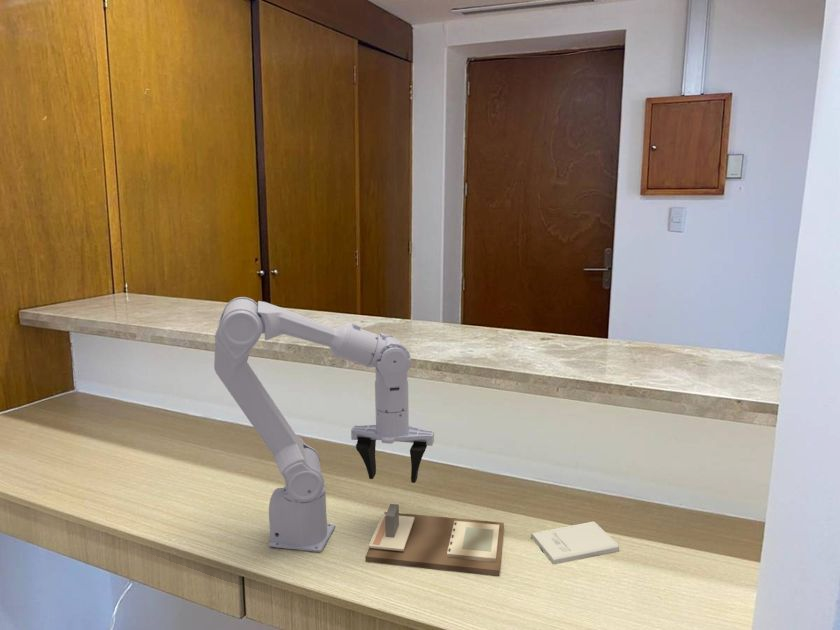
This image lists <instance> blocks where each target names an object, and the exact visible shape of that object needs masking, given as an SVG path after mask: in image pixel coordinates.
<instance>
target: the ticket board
mask: <svg viewBox="0 0 840 630" xmlns="http://www.w3.org/2000/svg"><path fill="white" fill-rule="evenodd" d="M386 513H387V511H383V514H386ZM399 516H409V517H415V519H414V522H413V525H412V528H411V531H410V534H409V537H408V540H407V543H406V546H405V548H404V551H395V550H386V549H376V548H369V547H368V550H367V551H366V554H365V556H364V557H365V560H364V562H366V563H375V564H383V565H393V566H401V567H411V568H412V567H413V568H419V569H420V568H422V569H430V570H439V571H440V570H441V571H449V572H460V573H467V574H468V573H469V574H480V575H487V576H488V575H489V576H496V577H499V576H500V573H501V572H500V571H501V561H502V549H503V540H504V539H503V537H504V526H505V523H504V522H500V521H491V520H490V521H488V520H479V519H467V518H456V517H446V516H438V515H437V516H435V515H423V514H414V513H402V512H399Z"/></svg>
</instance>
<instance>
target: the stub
mask: <svg viewBox="0 0 840 630" xmlns="http://www.w3.org/2000/svg"><path fill="white" fill-rule="evenodd" d="M399 505H400V504H398V503H397V504H396V503H389V506H388V508H387V511H386V512H387V513H386V514H384V513H382V515H381V516H380V519H379V520H378V523H377V526H376V528H375V530H374V532H373V534H372V537H371V539H370V541H369V544H368V549H369V548H376V549H386V550H395V551H404V548H405V546H406V543H407V540H408V537H409V534H410V531H411V528H412V525H413V522H414V519H415V517H409V516H399V513H400V508H399V507H400V506H399Z"/></svg>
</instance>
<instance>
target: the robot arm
mask: <svg viewBox="0 0 840 630" xmlns="http://www.w3.org/2000/svg"><path fill="white" fill-rule="evenodd" d="M262 334H264V341H269V340H270V339H271V340H272V339H274V338H276V337H278V336H281V335H286V336H290V337H293V338H297V339H301V340H304V341H308V342H311V343H315V344H319V345H322V346H326V347H328V348H330V351H331V353H332V355H333V356H334V357H336V358H339V359H341V360H345V361H348V362H351V363H353V364H358V365H360V366H365V367H367V368H375V381H374V392H375V393H374V398H375V399H374V401H375V424H369V425H368V424H365V425H357V424H356V425H355V424H354V425H353V427H352V428H351V430H350V435H351V437H350V438H351V440H353V441H356V440H357V441H356V444H355V449H356V451H357V452H358V453H359V455H360V458H361V459H362V460H363V463H364V465H365V468H366V471H367V474H368V479H369V480H373V479H374V478H375V476H376V473H377V462H376V445H377V441H381V443H382V444H393V443H395V442H398V443H399V442H401V443H411V444H412V445H411V446H410V448H409V455H410V463H411V464H410V467H411V471H410V481H411V482H410V483H412V484H415V483H416V482H417V480H418V476H419V475H418V474H419V469H420V465H421V462H422V458H423V456H424V454H425V452H426V449H427V448H428V446H429V447H432V446H433V445H434V443H435V430H428V429H424V428H422V429H421V428H417V427H413V426H409V425H410V424H409V418H410V417H409V381H408V373H409V371H410V370H411V367H412V364H413V360H412V359H411V355H410V352H409V350H408V349H407V347H405V345H404V344H403V343H402V341H400V340H399V339H398V338H396V337H394V336H393V335H392V334H386V333H385V332H384V333H383V332H380V333H379V334H377V333H374V332H371V331H368V330H366V329H362V326H361V325H360V324H359V323H357V322H353V321H352V323H351V324H348V323H342V324H340V325H339V326H336V327H335V326H330V325H328V324H326V323H323V322H320V321H317V320H314V319H312V318H309V317H307V316H304V315H302V314H299V313H297V312H293V311H291V310H288V309H286V308H283V307H280V306H277V305H275V304H272V303H269V302H267V301H263V300H262V301H261V300H258V302H256V301H255V300H254V299H252V298H250V297H247V296H239V297H235V298H233V299H231V300H230V301H229V302H228V303H226V305H225V306H224V308H223V311H222V313H221V315H220V318H219V320H218V325H217V330H216V332H215V334H214V360H213V361H214V363H213V364H214V367H213V368H214V371H215V374H216V375H217V376H218V378H219V380H220V381H221V382H222V384H223V386H224V387H225V388H226V389H227V391H228V392H229V394H230V396H231V397H232V398H233V400H234V401H235V402H236V404H237V405H238V407H239V408H240V409H241V411H242V413H243V414H244V416H246V418H247V420H248V421H249V422H250V424H251V425H252V427H253V428H254V430H255V431H256V432H257V434H258V435H259V437H260V438H261V440H262V441H263V443H264V444H265V445H266V447H267V448H268V450H269V451H270V453H271V454H272V456H273V458H274V460H275V463H276V465H277V468H278V471H279V472H280V474H281V475H282V477H283V479H284V482H285V483H284V484H285V486H283V487H277V488H275V489H274V490H273V492H272V494H271V495H270V496H271V497H270V498H269V499H270V500H269V505H268V521H269V522H268V523H269V534H270V535H269V536H270V537H269V538H270V541H269V543H268V547H270V548H277V549H278V548H279V549H289V550H298V551H299V550H300V551H308V552H315V553H316V552H317V553H319V552H322V551H324V550H323V549H324V547H326V545H327V542H328V541H329V539H330V537H331V535H332V533H333V531H334V529H335V528H336V525H335V524H334V523H328V518H327V517H328V516H327V496H326V495H327V494H326V486H325V478H324V476H323V473H322V472H323V471H322V469H321V468H322V467H321V457H320V455H319V452H318V451H317V450H316V449H315V448H313V447H312V446H310V445H308V444H306V443H305V441H304V440H303V439H302V437H301V436H299V435H298V434H296V432H295V431H294V430H293V428H292V426H291V425H290V424H289V422H288V421H287V419H286V418H285V416H284V415H283V413H282V412H281V410H280V409H279V407H278V406H277V404H276V403H275V401H274V400H273V398H272V396H271V395H270V393H269V392H268V391H267V390H266V388H265V387H264V385H263V383H262V382H261V381H260V379H259V378H258V376H257V374H256V373H255V372H254V370H253V369H252V367H251V366H250V364H249V363H248V360H249V357H250V354H251V350H252V349H253V348H254V346H255V345H256V344H257V342H258V341H259V340H260V338H261V336H262Z"/></svg>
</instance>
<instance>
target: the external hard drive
mask: <svg viewBox="0 0 840 630" xmlns="http://www.w3.org/2000/svg"><path fill="white" fill-rule="evenodd" d="M530 538H531V539H532V540H533V541H534V543H535V544H536V545H537V546H538V547H539V548H540V549H541V550H542V551H543V553H544V555H545V556H546V557H547V559H548V560H549V561H550V562H551V564H552V565H556V564H562V563H566V562H571V561H576V560H580V559H582V560H583V559H585V558H591V557H596V556H601V555H605V554H612V553H616V552H619V551H620V545H619V543H617V542H616V541H615V540H614V539H613V538H612V537H611V536H610V535H609V534H608V533H607V532H606V531H605V530H604V529H603V528H601V526H600V525H599V524H598V523H597V522H595V521H589V522H588V521H587V522H584V523H578V524H573V525H568V526H567V525H566V526H562V527H557V528H552V529H551V528H550V529H547V530H542V531H536V532H531V533H530Z"/></svg>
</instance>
